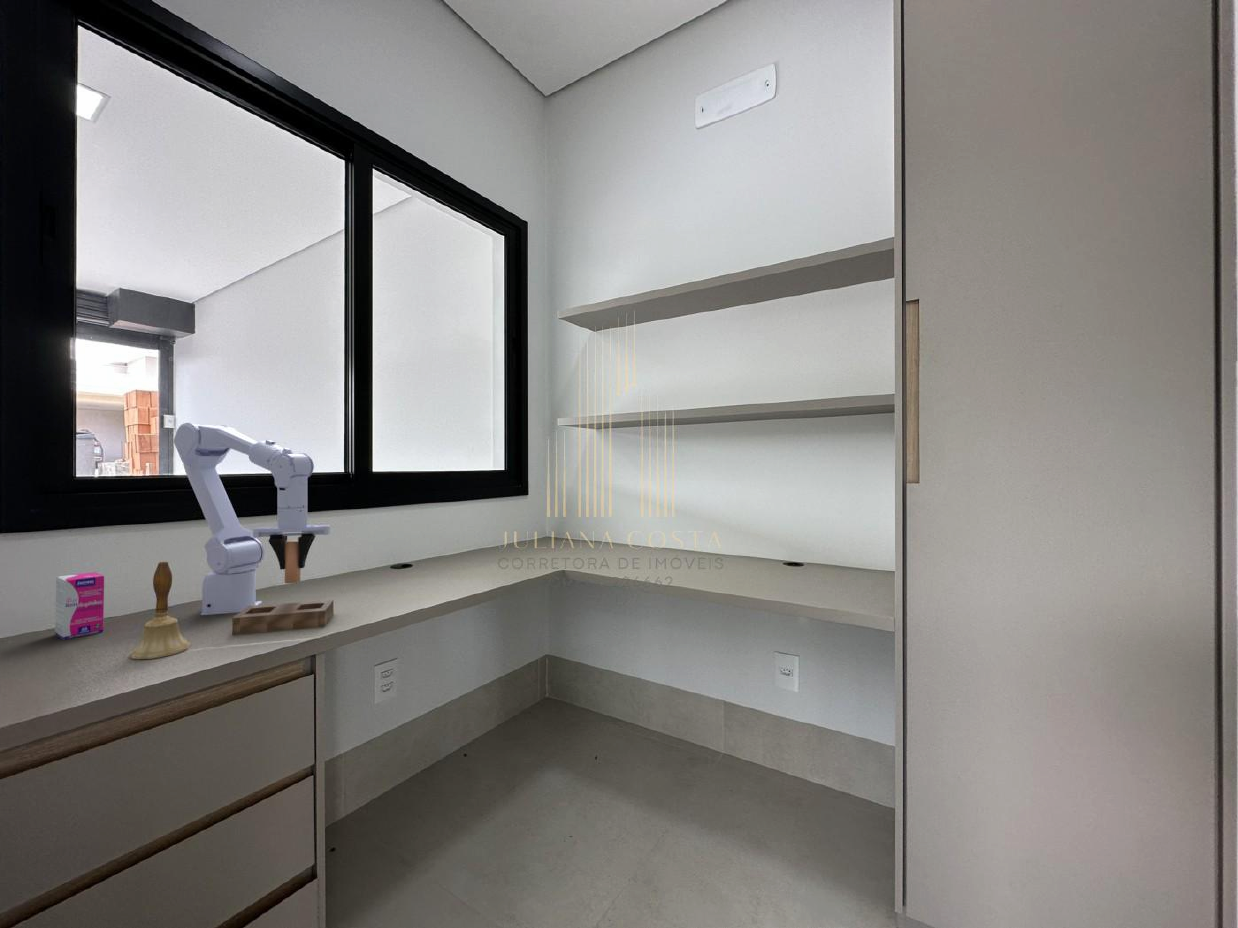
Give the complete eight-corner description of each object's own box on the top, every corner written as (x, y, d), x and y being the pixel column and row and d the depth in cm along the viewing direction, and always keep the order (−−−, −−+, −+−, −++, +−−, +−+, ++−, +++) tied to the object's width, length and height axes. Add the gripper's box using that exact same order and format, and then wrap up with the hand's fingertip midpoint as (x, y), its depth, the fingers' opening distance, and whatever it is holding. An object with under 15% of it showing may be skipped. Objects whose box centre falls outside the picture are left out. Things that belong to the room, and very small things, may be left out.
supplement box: (62, 640, 99) (63, 580, 99) (54, 634, 102) (54, 576, 102) (104, 632, 104) (104, 574, 104) (95, 627, 107) (95, 571, 107)
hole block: (232, 635, 101) (232, 617, 101) (248, 622, 110) (248, 605, 110) (325, 627, 107) (325, 610, 107) (333, 615, 115) (333, 599, 115)
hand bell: (166, 641, 98) (166, 557, 98) (202, 644, 96) (202, 559, 96) (116, 658, 90) (116, 565, 90) (155, 661, 88) (155, 567, 88)
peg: (283, 583, 114) (282, 542, 114) (286, 580, 117) (286, 540, 117) (298, 582, 115) (298, 541, 115) (301, 579, 118) (301, 540, 118)
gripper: (248, 509, 110) (248, 573, 110) (325, 507, 115) (325, 569, 115) (259, 507, 117) (259, 567, 117) (331, 505, 121) (331, 563, 121)
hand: (292, 568), depth 116 cm, fingers closed on peg, 3 cm apart
